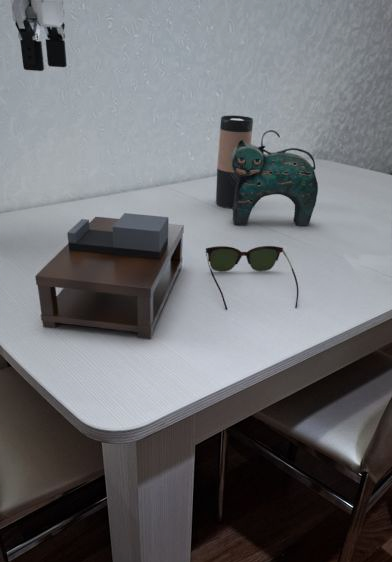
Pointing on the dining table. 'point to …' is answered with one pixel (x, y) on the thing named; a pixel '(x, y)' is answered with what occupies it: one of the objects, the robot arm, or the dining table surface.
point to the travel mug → (230, 155)
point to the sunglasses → (256, 257)
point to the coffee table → (109, 285)
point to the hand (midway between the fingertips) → (46, 68)
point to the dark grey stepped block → (123, 237)
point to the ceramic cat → (273, 180)
